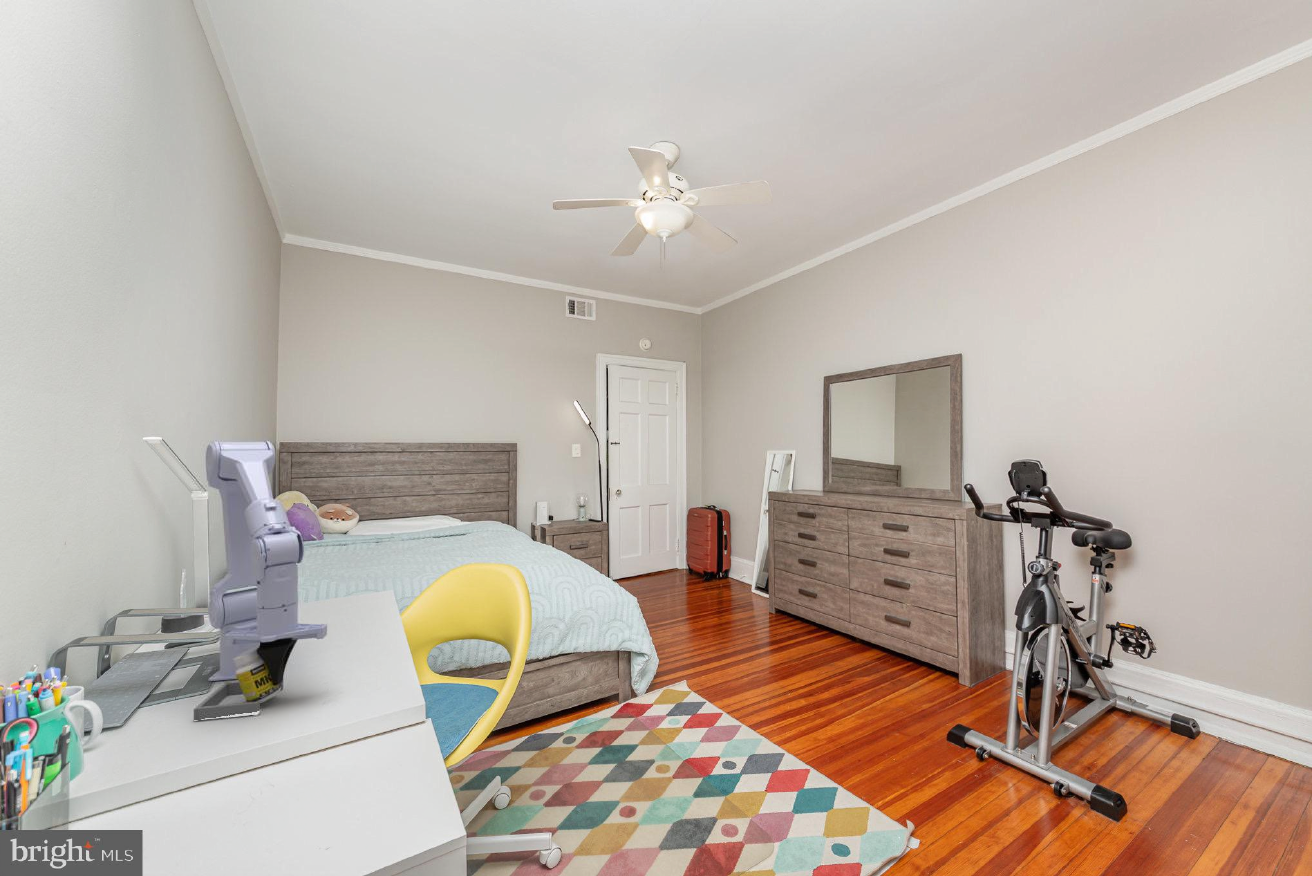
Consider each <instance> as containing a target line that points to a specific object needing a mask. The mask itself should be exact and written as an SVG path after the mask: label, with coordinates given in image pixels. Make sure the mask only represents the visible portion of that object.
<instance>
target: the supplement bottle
mask: <svg viewBox="0 0 1312 876" xmlns="http://www.w3.org/2000/svg"><path fill="white" fill-rule="evenodd" d="M257 648H259V647H256V648H253V649H250V650H248V651H246V652H244V653H242V654H240V655H238V656H236V657H235V658H234V659H233V660H234V663H235V665H236V667H238V669H237V670H236V676H237V679H236V680H238V681H239V684H240V686H241V689H242V691H243V696H244V698H245V702H246V703H247V702H258V701H260V704H261V703H264V702H266V701H268V700H270V699H271V698H273V697H275V696H276V695H277V694H279V693H280V692H281V691H282V690H281V687H280V685H277V686H273V683H272V679H271V676H270V673H269V670H268V668H267V666H266V665H265V663H264V661H263V660H262V659H261V657H260V656H259V655H258V654H257Z"/></svg>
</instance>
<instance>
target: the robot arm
mask: <svg viewBox="0 0 1312 876" xmlns="http://www.w3.org/2000/svg"><path fill="white" fill-rule="evenodd" d="M275 464H276V449H275V447H274V445H273V444H272V443H271V441H269V440H264V441H217V440H215V441H211V442H210V443H209V444H208V445H207V446H206V451H205V470H206V481H208V482H207V483H208V487H210V488H213V489H215V490H218V491H219V496H220V498H221V505H222V506H221V507H222V518H223V519H222V521H223V533H224V546H225V547H224V548H225V559H226V560H225V561H226V573H227V574H226V575H225V576H224V577H223V578H221V579H220V580H219V581H217V582H216V583H215V584H214V585H213V586H212V587H211V589H210V591H209V601H208V618H209V619H208V620H209V623H210V625H211V627H213V629H215V630H219V670H217V671H216V672H215V673H213V675H211V676H210V677H208V681H209V682H215V681H216V682H217V681H223V680H224V681H225V680H227V681H228V680H238V679H237V676H236V670H237V669H238V667H236V665H235V663H234V660H233V659H234V658H235V657H236V656H238V655H240V654H242V653H244V652H246V651H248V650H250V649H253V648H256V647H259V648H257V654H258V655H259V656H260V657H261V659H262V660H263V661H264V663H265V665H266V666H267V668H268V670H269V673H270V676H271V679H272V683H273V686H277V685H279V684H280V683H281V682H282V681H283V682H284V675H285V670H286V667H287V664H288V661H289V658H290V656H291V655H292V651H293V649H294V647H295V645H296V643H297V642H298V641H299V640H305V639H306V640H307V639H317V640H323V639H325V637H326V636H327V635H328V623H320V624H319V623H318V624H317V623H299V622H298V620H299V618H298V617H299V616H298V614H299V611H298V609H299V604H298V601H299V599H298V598H299V596H298V594H299V593H298V592H299V591H298V589H299V587H298V586H299V585H298V584H299V583H298V582H299V580H298V579H299V578H298V575H299V574H298V573H299V572H298V571H299V569H298V568H299V567H298V564H301V563H302V562H303V559H304V553H305V547H304V546H305V545H304V540H303V535H302V534H301V532H300V530H297V529H296V527H295V526H291V524H290V521H289V519H288V515H287V512H286V509H285V507H284V504H283V503H282V502H281V501H280V500H278V499H274V497H273V496H274V495H273V491H272V486H271V481H270V478H269V477H270V475H271V474H272V470H273V469H274V467H275ZM253 586H254V587H253ZM255 586H256V587H255ZM248 587H253V588H248ZM242 588H248V589H242ZM238 589H242V590H238ZM233 590H237V591H233ZM227 591H230V592H227Z"/></svg>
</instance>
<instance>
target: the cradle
mask: <svg viewBox="0 0 1312 876" xmlns="http://www.w3.org/2000/svg"><path fill="white" fill-rule="evenodd" d="M279 685H280V687H281V690H280V691H283V690H284V680H283V681H282V682H281V683H280V684H279ZM240 694H241V695H242V694H243V691H242V689H241V686H240V684H239V681H226V682H224V683H223V684H222V685H221V686H220V687H218V688H217V689H216V690H215V691H214V692H212V693H211V694H210V695H209V696H208V697H206V698H205V699H204V700H203V701H202V702H200V703H199V704H198V705H197V706H196V707H195V708H193V721H194V720H201V719H205V718H216V717H221V716H228V715H229V716H230V715H235V714H243V713H252V712H257V711H259V710H260V711H261V703H260V701H258V702H247V701H246V702H237V703H227V704H219V703H220V702H222V701H223V700H224V699H225V698H226V697H227V696H231V695H233V696H234V695H240ZM243 695H244V694H243Z"/></svg>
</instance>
